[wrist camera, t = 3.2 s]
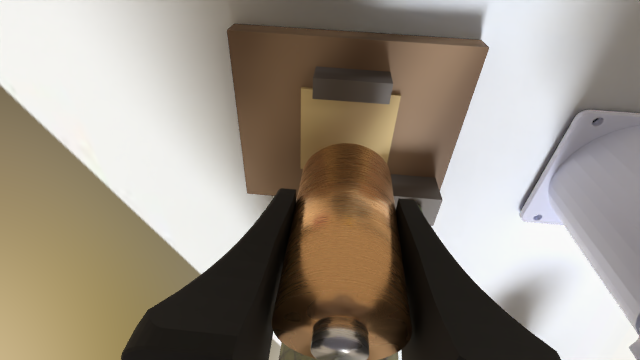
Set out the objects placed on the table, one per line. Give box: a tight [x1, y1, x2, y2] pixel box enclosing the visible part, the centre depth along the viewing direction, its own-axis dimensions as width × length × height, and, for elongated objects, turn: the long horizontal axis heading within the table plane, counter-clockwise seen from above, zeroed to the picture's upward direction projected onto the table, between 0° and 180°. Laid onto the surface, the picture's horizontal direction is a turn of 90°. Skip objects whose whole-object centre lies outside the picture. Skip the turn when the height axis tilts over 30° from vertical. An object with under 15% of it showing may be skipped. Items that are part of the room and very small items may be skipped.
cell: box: [272, 143, 412, 360], centre depth 12 cm, size 4×4×8 cm
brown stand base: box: [227, 24, 489, 226], centre depth 18 cm, size 12×10×4 cm
